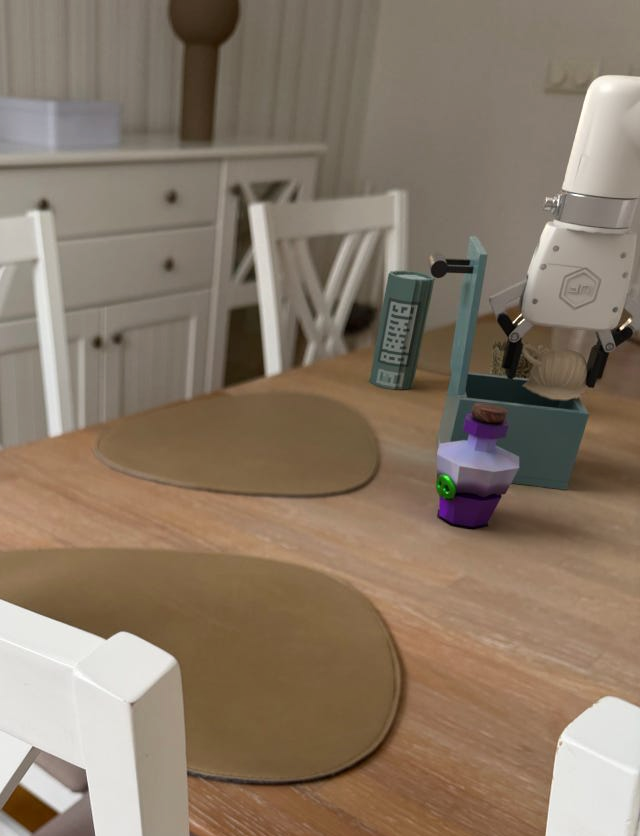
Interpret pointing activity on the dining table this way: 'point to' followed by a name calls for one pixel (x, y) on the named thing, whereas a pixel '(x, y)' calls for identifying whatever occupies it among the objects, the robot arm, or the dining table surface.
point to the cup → (523, 365)
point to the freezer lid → (463, 304)
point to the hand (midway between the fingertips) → (548, 379)
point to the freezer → (522, 426)
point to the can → (401, 329)
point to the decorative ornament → (556, 373)
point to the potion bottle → (475, 469)
